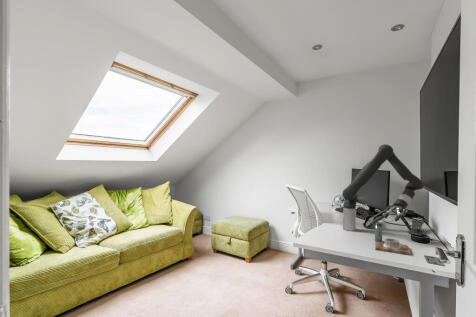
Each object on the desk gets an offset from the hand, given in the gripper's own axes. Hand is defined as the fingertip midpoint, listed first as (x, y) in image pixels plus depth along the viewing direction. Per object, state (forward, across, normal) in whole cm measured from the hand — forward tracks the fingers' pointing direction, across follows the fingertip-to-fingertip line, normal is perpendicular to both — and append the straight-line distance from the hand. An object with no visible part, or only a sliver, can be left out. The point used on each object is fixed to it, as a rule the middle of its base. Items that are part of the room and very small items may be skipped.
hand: (390, 219), depth 172 cm
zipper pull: (-16, -10, +37) cm, 42 cm away
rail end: (+17, 0, +3) cm, 18 cm away
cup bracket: (+20, +14, 0) cm, 25 cm away
